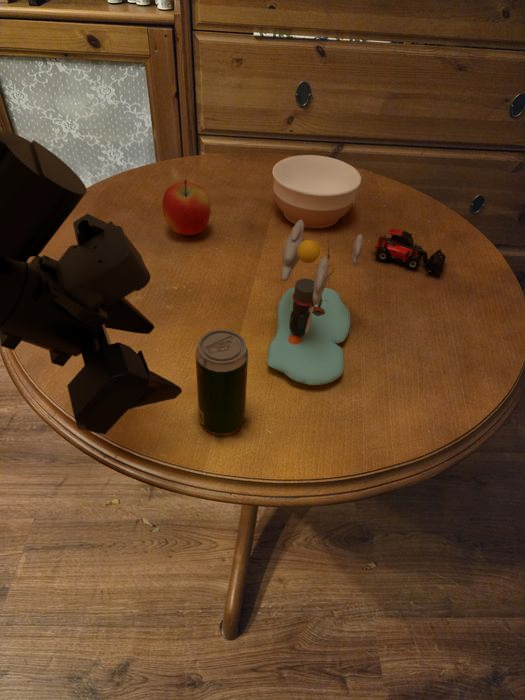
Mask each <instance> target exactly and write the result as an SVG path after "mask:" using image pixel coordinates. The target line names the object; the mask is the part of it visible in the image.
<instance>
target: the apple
mask: <svg viewBox="0 0 525 700" xmlns="http://www.w3.org/2000/svg"><path fill="white" fill-rule="evenodd" d="M211 211H212V201H211V198H210V196H209V194H208V192H206V190H205V189H204V188H203V187H201V186H200V185H198V184H196V183H195V182H188V180H187V179H184V181H183V182H177V183H174V184H171V185H170V186H168V187H167V188H166V189H165V192H164V193H163V197H162V213H163V217H164V219H165V222H166V224H167V225H168V227H169V228H170V229H171V230H172V231H173V232H175V233H176V234H179V235H183V236H194V235H198V234H199V233H201V232H203V231H204V229H205V228H206V227H207V225H208V224H209V220H210V219H211V218H210V217H211Z"/></svg>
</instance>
